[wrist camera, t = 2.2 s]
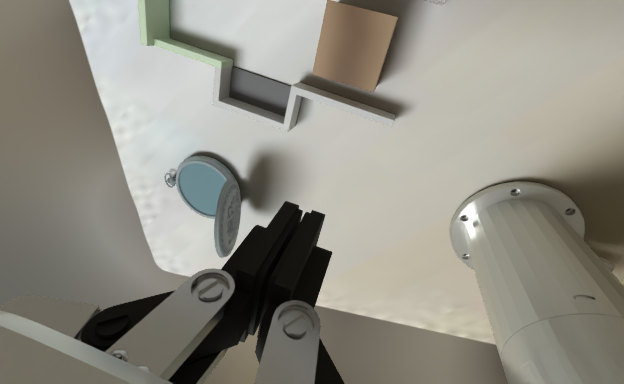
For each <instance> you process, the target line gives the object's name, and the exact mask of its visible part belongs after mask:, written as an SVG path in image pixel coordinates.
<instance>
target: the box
mask: <svg viewBox="0 0 624 384" xmlns="http://www.w3.org/2000/svg"><path fill="white" fill-rule="evenodd" d="M425 1H429V2H432V3H435V4H439V5H443V4H444V3H445V2H446V0H425ZM138 9H139V25H140V42H141V44H143V45H146V46H157V47H160V48H163V49H166V50H168V51H171V52H174V53H177V54H180V55H183V56H186V57H189V58H192V59H195V60H198V61H200V62H203V63H206V64H209V65H212V66H215V76H214V91H213V105H214V106H217V107H220V108H223V109H226V110H228V111H231V112H234V113H237V114H239V115H242V116H245V117H248V118H251V119H253V120H256V121H259V122H262V123H264V124H267V125H270V126H273V127H276V128H278V129H281V130H284V131H287V132H289V131H290V130H291V129H292V128H293V127H295V125H296V121H297V116H298V112H299V108H300V104H301V99H302V97H305V98H308V99H311V100H314V101H317V102H320V103H323V104H325V105H328V106H331V107H334V108H337V109H340V110H343V111H346V112H349V113H352V114H355V115H357V116H360V117H363V118H366V119H369V120H372V121H375V122H378V123H381V124H384V125H386V126H389V127H392V126H393V124H394V121H395V114H392V113H389V112H386V111H383V110H380V109H377V108H374V107H371V106H368V105H365V104H362V103H359V102H356V101H353V100H350V99H347V98H344V97H341V96H338V95H335V94H333V93H330V92H327V91H324V90H321V89H318V88H315V87H312V86H309V85H306V84H303V83H300V82H298V83H296V84H294V85H292V86H289V85H286V84H283V83H280V82H277V81H274V80H271V79H268V78H265V77H262V76H259V75H256V74H254V73H251V72H248V71H245V70H242V69H239V68H236V67H233V60H232V59H229V58H226V57H223V56H220V55H217V54H214V53H212V52H209V51H206V50H203V49H200V48H197V47H194V46H191V45H188V44H185V43H182V42H179V41H176V40H173V39H170V17H169V0H138Z"/></svg>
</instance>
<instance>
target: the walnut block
mask: <svg viewBox="0 0 624 384" xmlns="http://www.w3.org/2000/svg"><path fill="white" fill-rule="evenodd" d="M397 22H398V17H395V16H391V15H387V14H383V13H379V12H375V11H371V10H367V9H363V8H359V7H355V6H351V5H347V4H343V3H339V2H335V1H331V0H327V4H326V9H325V14H324V19H323V24H322V29H321V34H320V39H319V44H318V49H317V53H316V58H315V63H314V68H313V73H312V75H316V76H319V77H323V78H326V79H330V80H333V81H337V82H340V83H344V84H347V85H351V86H354V87H358V88H361V89H365V90H368V91H372V92H374V90H375V88H376V87H377V84H378V81H379V78H380V75H381V72H382V68H383V65H384V62H385V59H386V56H387V53H388V50H389V47H390V44H391V41H392V38H393V35H394V31H395V28H396V25H397Z"/></svg>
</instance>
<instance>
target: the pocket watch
mask: <svg viewBox="0 0 624 384" xmlns="http://www.w3.org/2000/svg"><path fill="white" fill-rule="evenodd" d="M167 174H169V173H166V174H165V182H166V184H167V185H168V183H170V184H171V185H172V186H169V185H168V186H169V187H171V188H172V187H173V186H174V185H175V184H176V186H177V189H178V192H179V194H180V196H181V198H182V199H183V201H184V202H185V203H186V204H187V205H188V206H189V207H190V208H191V209H192V210H193V211H195V212H196V213H198V214H200V215H202V216H204V217H207V218H213V219H215V224H214V239H215V247H216V251H217V254H218V255H219V257H221V258H223V257H226V256H228V255H229V254H230V253H231V251H232V249H233V247H234V245H235V242H236V238H237V234H238V229H239V223H240V214H241V196H240V189H239V186H238V183H237V181H236V179H235V178H234V176H233V174H232V173H231V172H230V171H229V170H228V168H227V167H225V166H224V165H223V164H222V163H220V162H219V161H217V160H215V159H213V158H210V157H207V156H191V157H189V158H187V159H185V160H184V161H183V162H182V163H181V164H180V165H179V167H178V169H177V174H176V180H175V178H174V177H172V176H171V174H169V175H170V176H171V177H170V178H168V180H167V181H166V175H167ZM167 182H168V183H167Z"/></svg>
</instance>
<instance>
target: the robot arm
mask: <svg viewBox="0 0 624 384" xmlns="http://www.w3.org/2000/svg"><path fill="white" fill-rule="evenodd" d="M513 189H514V190H513ZM302 212H303V211H302V210H300V209H299V205H296V204H293V203H290V202H287V201H286V202H285V203H284V204H283V206H282V207H281V208H280V210H279V211H278V213H277V214H276V215H275V217H274V218H273V220H272V221H271V222H270V224H269V225H268V227H267V228H264V227H262V226H259V225H256V226H255V227H254V228H253V229H252V230H251V232H250V233H249V234H248V236H247V237H246V238H245V239H244V241H243V242H242V243H241V244H240V246H239V247H238V248H237V250H236V251H235V252H234V253H233V255H232V256H231V257H230V259H229V260H228V261H227V262H226V264H225V265H224V266H223V268H222V269H221V270H220V269H205V270H202V271H200V272H198V273H196V274H195V275H193V276H192V277H191V278H189V279H188V280H187V281H186V282H185V283H184V284H182V285H181V286H180V287H179V288H178V289H177V290H175V291H171V292H167V293H163V294H159V295H155V296H151V297H148V298H144V299H140V300H136V301H132V302H128V303H124V304H120V305H116V306H113V307H110V308H107V309H105V310H104V309H100V307H99V305H94V304H87V303H81V302H74V301H68V300H61V299H56V298H49V297H43V296H24V297H19V298H16V299H14V300H11V301H9V302H7V303H5V304H3V305H2V306H1V307H0V384H203V383H204V382H205V380H206V379H207V378H208V377H209V375H210V374H211V373H212V371H213V370H214V369H215V367H216V366H217V365H218V363H219V362H220V360H221V359H222V358H223V357H224V355H225V353H226V351H227V350H228V348H230V347H232V346H235V345H237V344H238V343H239V341H241V342H245V340H246V338H247V336H248V334H250V335H254V334H255V332H256V330H257V328H258V326H259V324H260V326H259V331H258V336H257V337H258V340H257V345H256V351H255V353H256V356H257V358H258V361H259V368H258V372H257V375H256V379H255V383H254V384H344V382H343V380H342V378H341V376H340V374H339V373H338V371H337V369H336V367H335V365H334V363H333V362H332V360H331V358H330V356H329V354H328V352H327V351H326V349H325V347H324V345H323V343H322V341H321V340H320V329H321V325H320V318H319V316H318V313H317V312H316V311H315V310H314V307H315V304H316V301H317V298H318V295H319V292H320V288H321V285H322V282H323V279H324V276H325V273H326V270H327V267H328V264H329V261H330V258H331V255H332V252H331V251H328V250H325V249H323V248H320V247H317V246H316V245H317V241H318V238H319V235H320V231H321V228H322V225H323V221H324V218H325V214H322V213H319V212H316V211H313V210H312V212H311V213H308V212H306V213H305V215H304V217H303V218H302V220H301V216H302ZM462 215H463V216H462ZM300 221H301V222H300ZM585 229H586V228H585V220H584V217H583V215H582V212H581V210H580V209H579V208H578V206H577V205H576V204H575V203H574V202H573V201H572V200H571V199H570V198H569V197H568V196H567V195H566V194H564V193H562V192H561V191H559V190H557V189H555V188H553V187H550V186H547V185H544V184H540V183H534V182H509V183H502V184H499V185H495V186H491V187H489V188H486V189H484V190H482V191H480V192H478V193H476V194H475V195H473V196H472V197H470V198H469V199H467V200H466V201H465V202H464V203H463V204H462V205H461V206H460V207H459V209H458V210H457V211H456V213H455V214H454V217H453V219H452V221H451V225H450V240H451V244H452V247H453V249H454V251H455V254H456V255H457V256H458V258H459V259H460V260H461V261H462V262H463V263H464V264H466V265H467V266H468V267H470V268H471V269H473V270H474V271H475V275H476V278H477V281H478V285H479V288H480V291H481V295H482V298H483V301H484V305H485V308H486V311H487V315H488V318H489V321H490V325H491V328H492V331H493V335H494V338H495V341H496V345H497V348H498V351H499V354H500V358H501V361H502V364H503V367H504V370H505V374H506V376H507V380H508V382H509V384H624V286H623V285H622V283H621V282H620V281H619V280H618V279H617V278H616V277H615V275H614V274H613V273H612V272H611V271H612V270H613V268H614V264H613V262H611V261H609V260H607V259H604V258H601V257H598V256H597V255H596V254H595V253H594V252H593V250H592V249H591V248H590V247H589V246H588V245H587V244H586V242H585V241H584V240H583V239H584V235H585Z"/></svg>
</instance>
